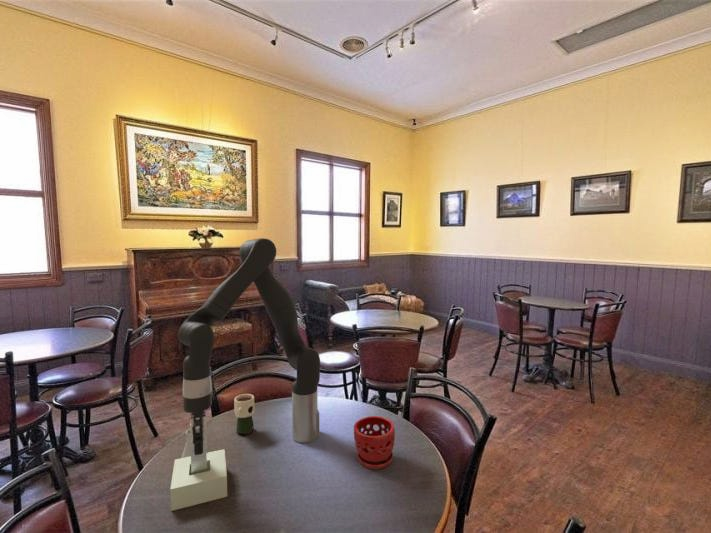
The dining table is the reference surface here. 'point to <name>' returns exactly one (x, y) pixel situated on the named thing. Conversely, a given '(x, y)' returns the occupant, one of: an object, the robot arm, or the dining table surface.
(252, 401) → the character mug
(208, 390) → the robot arm
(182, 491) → the well block
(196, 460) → the rectangular block
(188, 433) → the flask
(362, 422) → the plant pot
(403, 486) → the dining table surface
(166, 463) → the dining table surface
